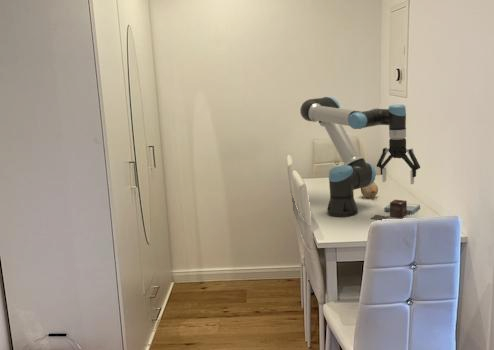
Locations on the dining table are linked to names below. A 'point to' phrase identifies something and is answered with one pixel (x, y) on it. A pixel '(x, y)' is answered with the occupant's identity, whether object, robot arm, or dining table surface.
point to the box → (398, 208)
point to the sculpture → (370, 190)
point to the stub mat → (379, 217)
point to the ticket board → (410, 208)
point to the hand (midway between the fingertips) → (398, 182)
